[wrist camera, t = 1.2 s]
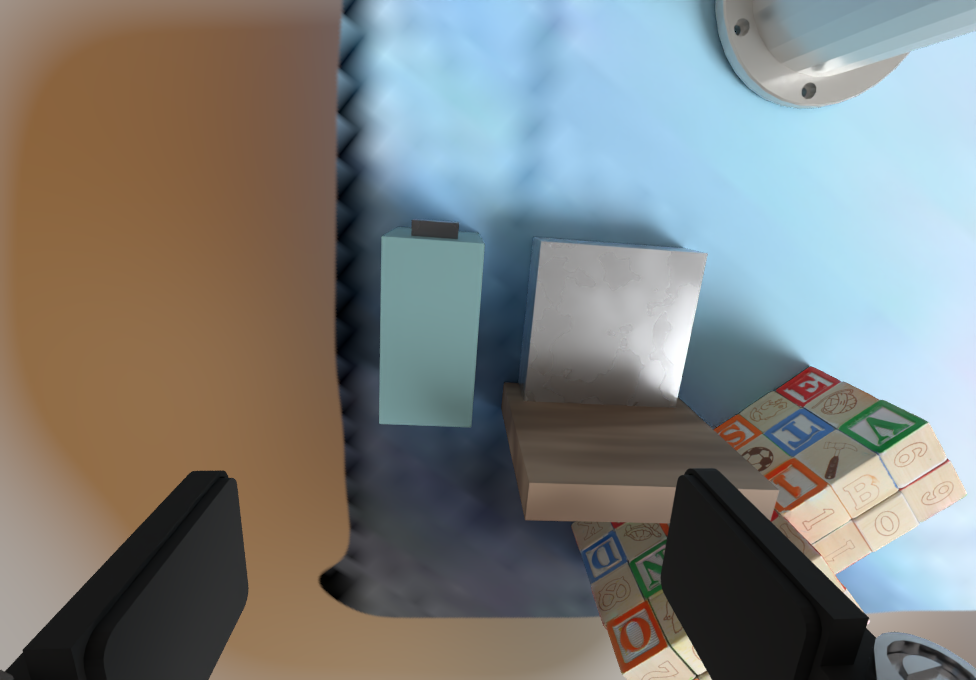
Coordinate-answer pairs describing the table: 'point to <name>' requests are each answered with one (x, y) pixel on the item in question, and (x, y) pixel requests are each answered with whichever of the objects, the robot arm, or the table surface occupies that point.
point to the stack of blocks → (781, 507)
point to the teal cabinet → (429, 323)
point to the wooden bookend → (611, 386)
